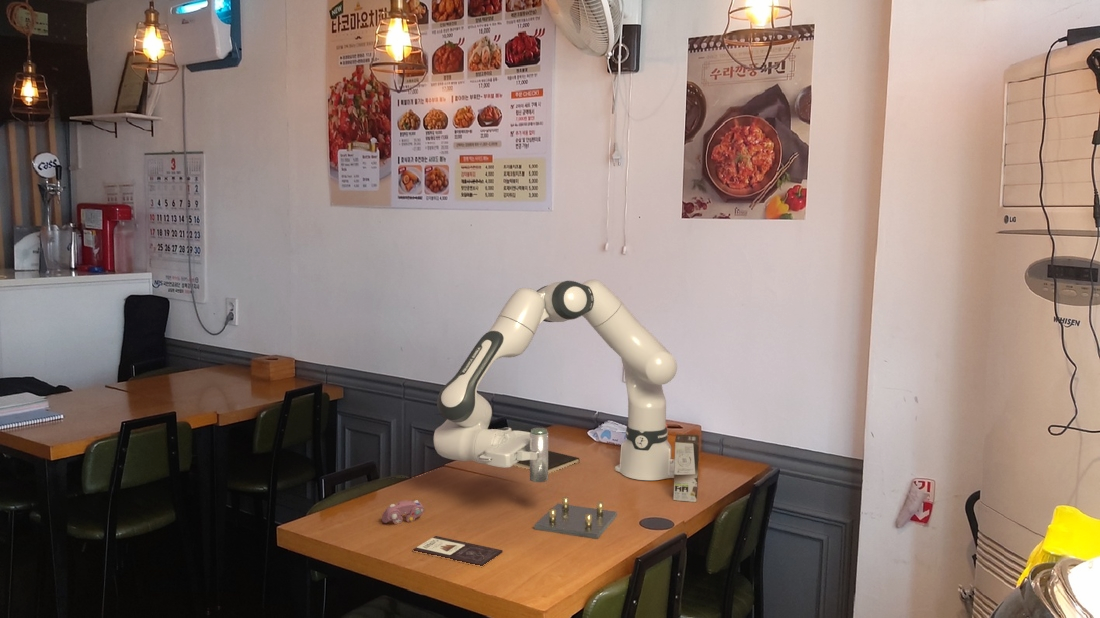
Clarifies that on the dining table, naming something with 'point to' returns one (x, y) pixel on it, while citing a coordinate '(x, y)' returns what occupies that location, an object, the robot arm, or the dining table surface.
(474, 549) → the chocolate bar
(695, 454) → the coffee box
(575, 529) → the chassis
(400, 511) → the video game controller
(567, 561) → the dining table surface
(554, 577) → the dining table surface
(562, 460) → the hardcover book
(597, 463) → the dining table surface
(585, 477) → the dining table surface
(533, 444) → the canister
